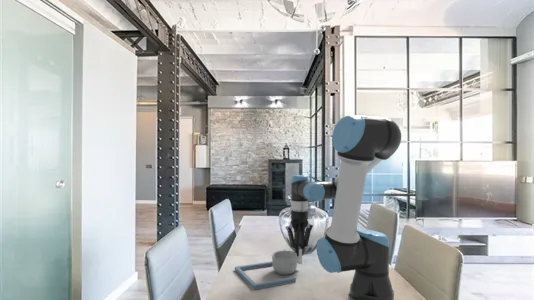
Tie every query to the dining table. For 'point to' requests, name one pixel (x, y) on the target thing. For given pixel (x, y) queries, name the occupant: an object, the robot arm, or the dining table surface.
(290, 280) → the tray frame
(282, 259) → the teacup
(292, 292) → the dining table surface
